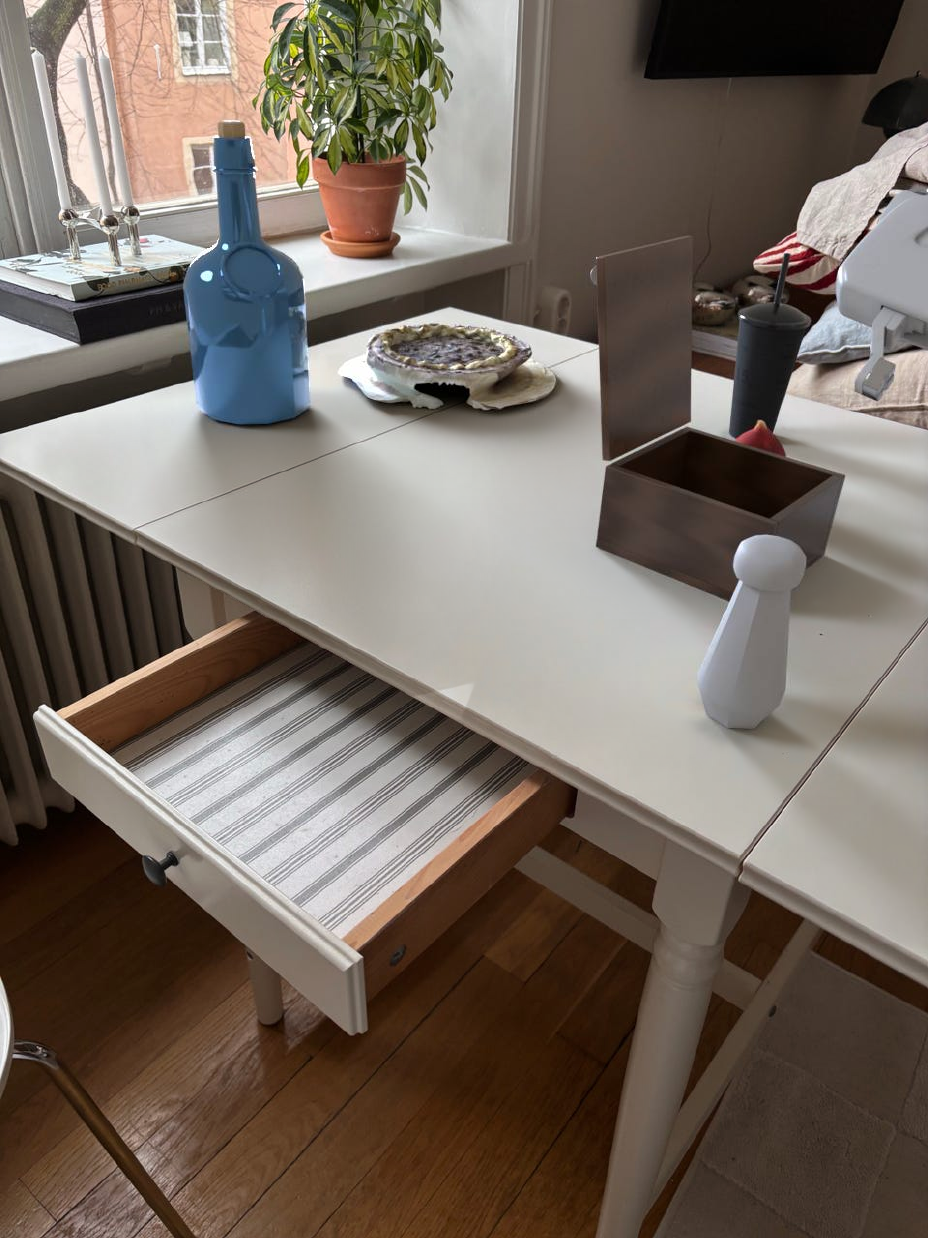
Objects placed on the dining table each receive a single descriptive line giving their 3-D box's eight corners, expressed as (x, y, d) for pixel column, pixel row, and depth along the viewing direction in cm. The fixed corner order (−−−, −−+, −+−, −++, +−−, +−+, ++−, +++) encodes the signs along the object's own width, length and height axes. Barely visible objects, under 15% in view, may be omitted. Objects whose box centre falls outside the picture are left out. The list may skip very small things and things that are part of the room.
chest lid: (693, 235, 83) (649, 236, 86) (604, 256, 74) (558, 257, 77) (691, 421, 90) (650, 417, 93) (610, 461, 81) (567, 455, 84)
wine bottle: (188, 395, 115) (153, 114, 99) (296, 384, 120) (279, 114, 104) (209, 436, 104) (174, 128, 88) (327, 422, 109) (314, 128, 93)
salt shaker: (689, 728, 64) (724, 559, 57) (692, 680, 69) (725, 518, 62) (779, 744, 63) (825, 573, 56) (776, 694, 68) (819, 530, 61)
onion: (784, 494, 97) (801, 418, 93) (768, 515, 93) (786, 436, 88) (728, 480, 99) (742, 406, 95) (710, 500, 95) (725, 423, 91)
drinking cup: (742, 418, 115) (777, 243, 105) (797, 437, 110) (839, 256, 100) (702, 431, 111) (735, 250, 100) (757, 452, 106) (797, 264, 95)
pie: (317, 355, 130) (316, 318, 127) (500, 339, 139) (502, 304, 137) (384, 428, 108) (383, 385, 106) (594, 403, 118) (599, 363, 115)
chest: (824, 554, 86) (846, 474, 82) (754, 611, 77) (774, 524, 73) (674, 501, 95) (686, 426, 90) (595, 546, 86) (605, 465, 82)
